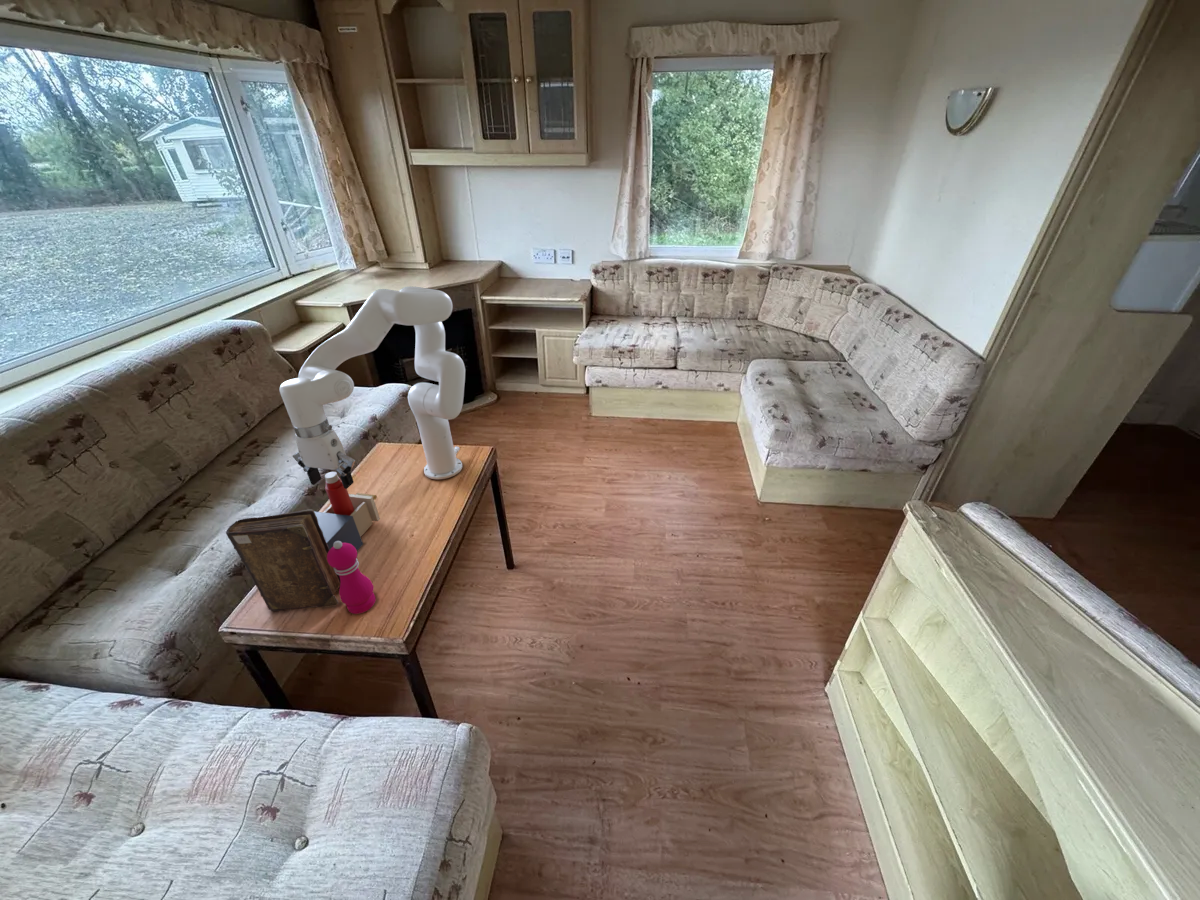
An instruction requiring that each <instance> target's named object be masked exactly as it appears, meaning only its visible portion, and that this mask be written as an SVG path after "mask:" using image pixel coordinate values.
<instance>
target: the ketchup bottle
mask: <svg viewBox="0 0 1200 900" xmlns="http://www.w3.org/2000/svg"><path fill="white" fill-rule="evenodd" d="M324 479H325V485H324V490H325V492H326V495H327V497H328V500H329V502H330V505H332V508H333V510H334V513H335V514H340V515H348V516H350V515H351V514H352V513H353V512H354V511H355V510H354V507H353V505H352V502H351V499H350V496H349V494H350V493H349V491H348V488H347V489H345V488H344V487H343V484H342V481H341V478H340V476H339V475H338V472H337V471H330V472H327V473H325V474H324Z"/></svg>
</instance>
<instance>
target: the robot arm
mask: <svg viewBox="0 0 1200 900" xmlns="http://www.w3.org/2000/svg"><path fill="white" fill-rule="evenodd" d="M453 306H454V305H453V301H452V299H451V296H449V294H447V292H444V291H443V290H439V289H433V288H427V287H422V286H411V285H409V286H404V287H402V288H401V289H399V290H394V289H389V288H388V289H387V288H379V289H375V290H374V291H373V292H371V293H370V295H369V296H368V297H367V299H366V300H365V301H364V302H363V304H362V306H360V308H359V310H358V311H357V312H356V313H355V315H354V316H353V318H352V319H351V320H350V322H349V323H348V325H347V326H346V327H345V328H344V329H342V330H341V331H339V332H337V333H336V334H334V335H333V336H331V337H330V338H328V339H327V340H325V341H324V342H321V344H320V345H318V346H317V347H316V348H315V349H314V350H313V351H312V352H311V354H310V355H309V356H308V358H307V359H306V360H305V361H304V363H303V364H302V366H301V367H300V369H299V372H298V375H297V377H295V378H291V379H288V380H285V381H284V382H282V383H281V384H280V386H279V388H278V389H279V394H280V396H281V399H282V402H283V404H284V407H285V409H286V411H287V415H288V417H289V419H290V422H291V425H292V427H293V430H294V432H295V436H294V437H295V443H296V446H297V450H298V451H296V453H295V452H294V454H293V455H292V458H293V459H294V461H296V462H297V464H298V466H300V467H301V468H302V469H303V472H304V473H306V474H307V477H308V480H309V483H310V484H311V485H312V486H314V485H316V484H318V483H319V482H320V481H321V480H322V476H321V473H320V470H319V469H321V470H331V471H332V470H333V471H334V470H335V472H336V473H339V474H340V476H339V477H340V479H341V481H342V484H343V487H344V488H345V489H347V490H348V489H349V488H350V487H351V486H352V485H353V484H354V479H353V475H352V471H353V469H354V468H355V463H356V459H354V457H353V458H352V457H351V456H349V455H347V453H346V451H345V448H344V445H343V443H342V442H341V440H340V437H339V435H338V434H337V432H336V431H335V430H334V429H333V426H332V424H330V423H329V420H328V416H327V414H326V411H325V408H324V406H325V405H328V404H334V403H337V402H340V401H344V400H346V399H347V398H349V397H350V396H351V395H352V394H353V392H354V388H355V382H354V380H353V379H352V377H351V376H350V375H349V374H347V373H345V372H343V371H341V370H337V368H338V367H339V366H340V365H341V364H342V363H344V362H345V361H347V360H349V359H352V358H355V357H358V356H361V355H365V354H369V353H372V352H374V351H376V350H377V349H378V348H379V346H380V345H381V343H382V342H383V340H384V338H385V337H386V336H387V334H388V333H389V331H390V330H391V329H392V328H393V326H394V325H395V324H396V325H402V326H413V328H414V332H415V344H414V345H415V346H414V347H415V348H414V370H415V373H416V374H417V375H418V376H419V377H421V378H422V379H423V378H424V379H426V380H430V381H434V382H438V384H435V383H434V384H433V383H430V382H423V381H422V382H417V383H415V384H413V385H412V386H411V387H410V389H409V391H408V394H407V403H408V406H409V408H410V410H411V412H412V415H413V416H414V419H415V422H416V425H417V430H418V432H419V437H420V441H421V444H422V450H423V452H424V453H423V454H424V457H425V461H426V464H425V466H424V467H423V474H424V476H425V477H426V478H428V479H432V480H445V479H449V478H452V477H454V476H456V475H458V474H459V473H460V472H461V471H462V469H463V461H462V460H461V459H459V458H457V455H458V453H459V451H460V450H461V448H460V447H459V446H457V445H455V446H454V442H453V437H452V433H451V427H450V422H449V420H450V421H451V420H454V419H456V418H457V417H458V416H459V415H460V413H461V411H462V409H463V405H464V397H465V383H466V366H465V363H464V360H463V359H462V358H461V356H460V355H458V353H455V352H451V351H447V350H446V330H445V326H444V324H443V322H444V321H446V320H448V319H449V317H451V315H452V313H453V309H454V308H453ZM341 467H342V468H341Z"/></svg>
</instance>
